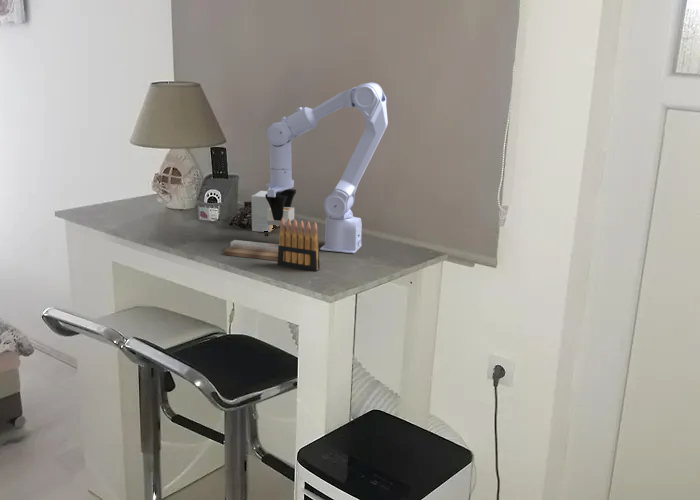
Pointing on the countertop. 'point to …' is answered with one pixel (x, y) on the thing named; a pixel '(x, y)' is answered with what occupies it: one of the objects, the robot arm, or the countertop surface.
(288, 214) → the block
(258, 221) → the small box
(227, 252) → the board
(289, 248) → the ammunition clip
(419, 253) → the countertop surface
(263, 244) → the rail
